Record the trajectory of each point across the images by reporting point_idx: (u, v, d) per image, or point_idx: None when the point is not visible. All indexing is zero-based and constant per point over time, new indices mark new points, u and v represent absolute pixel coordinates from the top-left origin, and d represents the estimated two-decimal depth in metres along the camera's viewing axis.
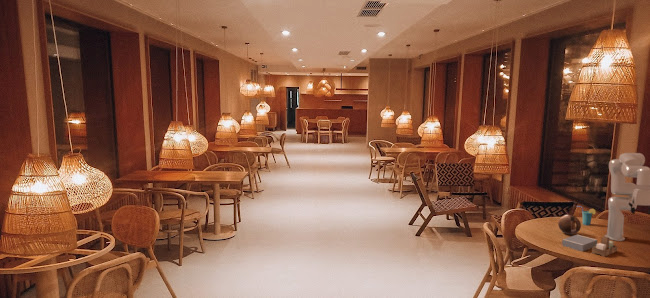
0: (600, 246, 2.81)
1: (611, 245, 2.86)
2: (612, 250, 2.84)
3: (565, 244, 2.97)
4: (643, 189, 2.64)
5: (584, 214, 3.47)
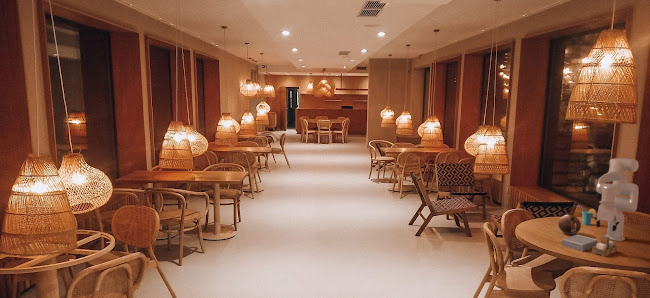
0: (600, 246, 2.81)
1: (611, 245, 2.86)
2: (612, 250, 2.84)
3: (565, 244, 2.97)
4: None
5: (584, 214, 3.47)
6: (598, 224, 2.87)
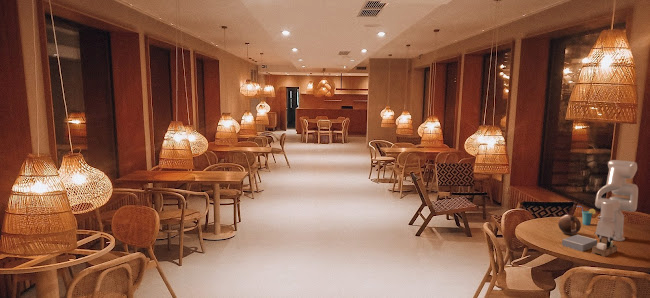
0: (600, 245, 2.81)
1: (611, 245, 2.86)
2: (613, 249, 2.83)
3: (565, 244, 2.97)
4: None
5: (584, 214, 3.47)
6: None
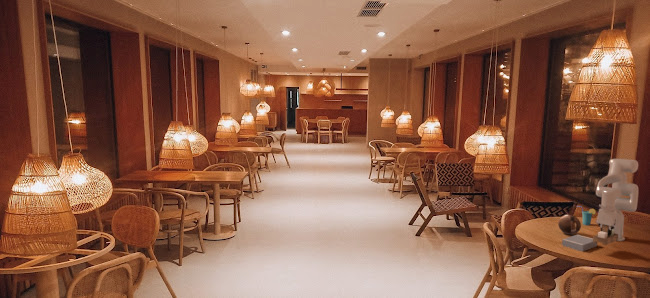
0: (601, 234, 2.81)
1: (612, 233, 2.85)
2: (614, 238, 2.83)
3: (565, 244, 2.97)
4: None
5: (584, 214, 3.47)
6: None
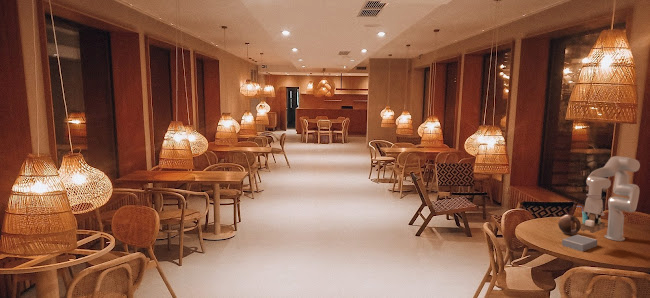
0: (589, 222, 2.86)
1: (598, 222, 2.91)
2: (600, 226, 2.89)
3: (565, 244, 2.97)
4: None
5: (584, 214, 3.47)
6: None
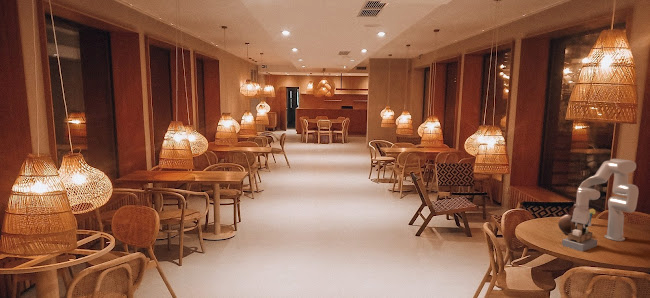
0: (576, 232, 2.94)
1: (586, 231, 2.98)
2: (588, 236, 2.96)
3: (565, 244, 2.97)
4: None
5: None
6: None
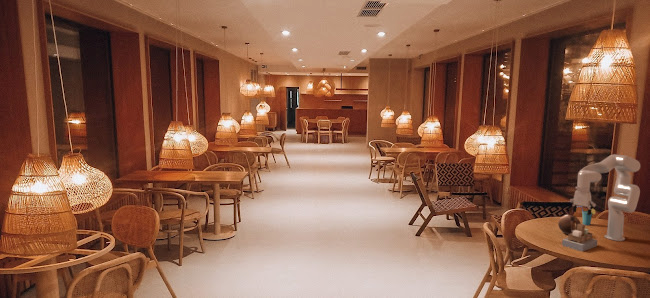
0: (576, 233, 2.94)
1: (586, 232, 2.99)
2: (588, 236, 2.96)
3: (565, 244, 2.97)
4: None
5: (584, 214, 3.47)
6: (574, 209, 2.99)
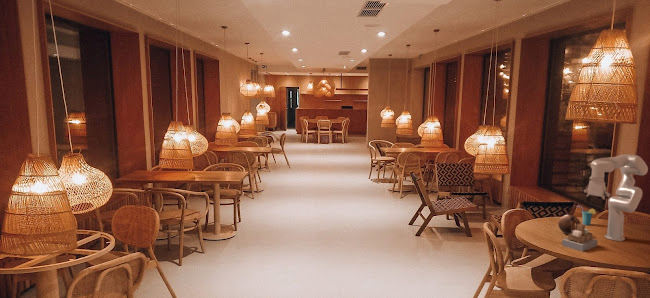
0: (576, 233, 2.94)
1: (586, 232, 2.99)
2: (588, 236, 2.96)
3: (565, 244, 2.97)
4: None
5: (584, 214, 3.47)
6: (588, 199, 3.01)
